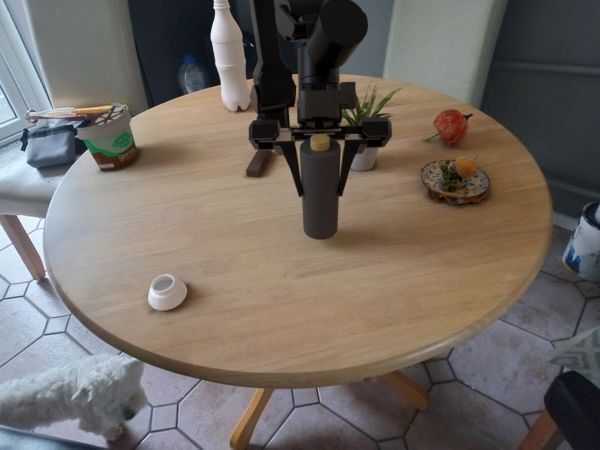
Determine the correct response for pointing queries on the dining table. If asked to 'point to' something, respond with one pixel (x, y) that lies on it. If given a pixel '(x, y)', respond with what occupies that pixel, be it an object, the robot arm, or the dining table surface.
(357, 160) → the house plant
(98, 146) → the food container
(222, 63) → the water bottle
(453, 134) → the pomegranate
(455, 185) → the multicoloured piece
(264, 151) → the walnut stick
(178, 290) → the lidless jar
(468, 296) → the dining table surface
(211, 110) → the dining table surface
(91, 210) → the dining table surface
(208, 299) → the dining table surface
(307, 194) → the grey bottle yellow cap
